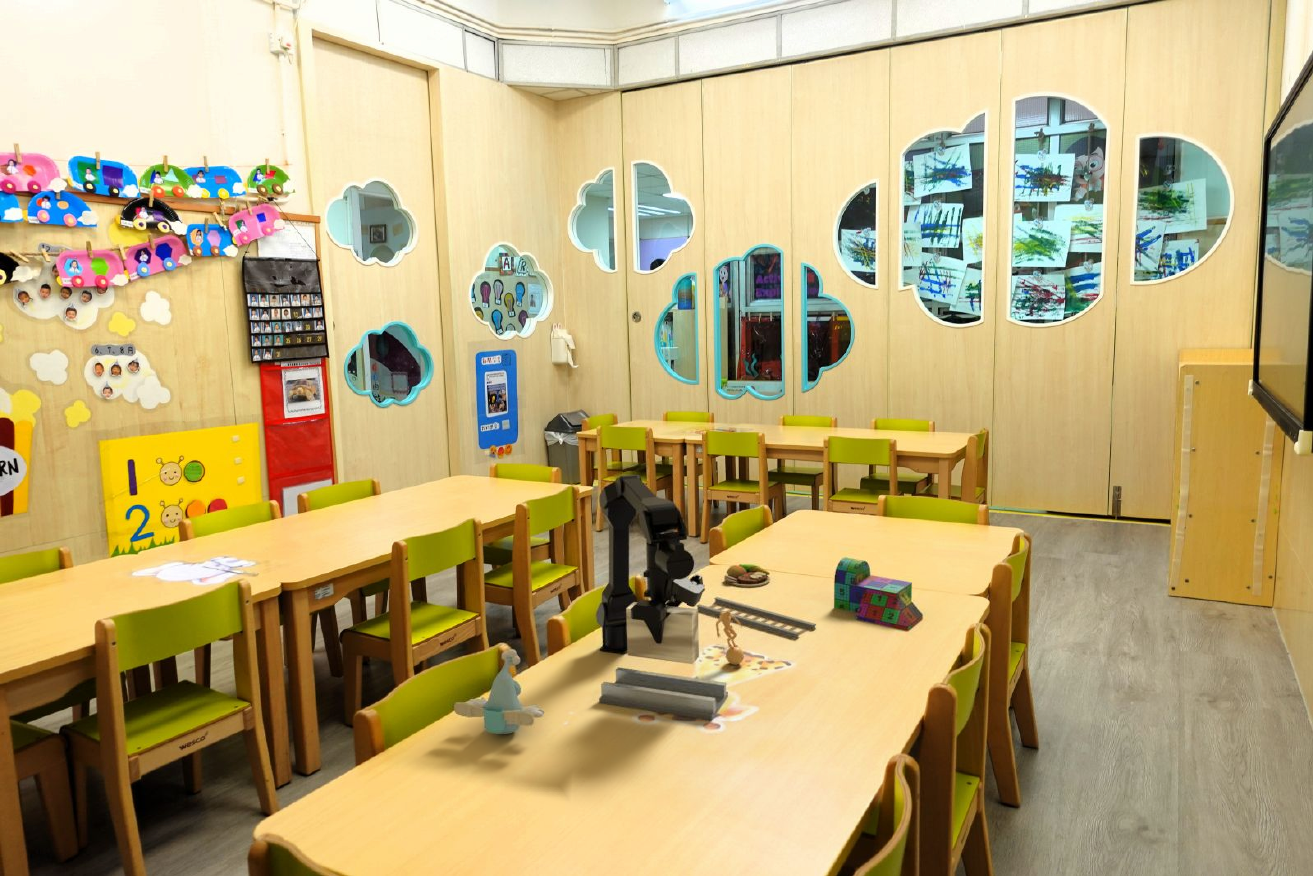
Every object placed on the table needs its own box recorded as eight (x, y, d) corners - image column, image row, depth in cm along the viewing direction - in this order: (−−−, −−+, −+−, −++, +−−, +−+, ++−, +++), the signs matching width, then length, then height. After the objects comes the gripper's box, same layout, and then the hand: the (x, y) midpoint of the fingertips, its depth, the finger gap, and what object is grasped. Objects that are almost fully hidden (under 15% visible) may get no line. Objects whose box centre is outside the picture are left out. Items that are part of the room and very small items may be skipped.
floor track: (599, 702, 176) (598, 686, 176) (620, 680, 186) (620, 665, 186) (711, 720, 167) (711, 703, 167) (727, 696, 178) (727, 680, 177)
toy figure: (557, 724, 167) (554, 651, 165) (532, 751, 158) (529, 673, 155) (482, 713, 173) (478, 642, 170) (453, 738, 163) (448, 662, 161)
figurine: (730, 672, 189) (729, 620, 187) (709, 665, 193) (708, 613, 192) (753, 660, 195) (753, 609, 193) (732, 653, 199) (732, 603, 197)
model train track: (793, 643, 206) (793, 635, 206) (693, 614, 227) (693, 606, 227) (818, 630, 214) (818, 622, 214) (720, 602, 236) (720, 595, 235)
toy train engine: (825, 613, 224) (826, 567, 222) (850, 597, 236) (851, 553, 234) (908, 631, 211) (909, 582, 209) (929, 613, 223) (931, 566, 221)
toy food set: (749, 596, 240) (749, 582, 239) (707, 587, 248) (707, 574, 248) (783, 577, 256) (783, 564, 255) (743, 569, 264) (743, 557, 264)
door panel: (692, 664, 171) (691, 616, 170) (627, 655, 176) (626, 608, 175) (698, 656, 175) (698, 609, 173) (635, 648, 180) (633, 602, 178)
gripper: (683, 583, 161) (685, 662, 163) (713, 555, 178) (714, 627, 181) (628, 577, 165) (630, 655, 167) (663, 551, 182) (664, 621, 185)
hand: (662, 639), depth 175 cm, fingers closed on door panel, 4 cm apart
